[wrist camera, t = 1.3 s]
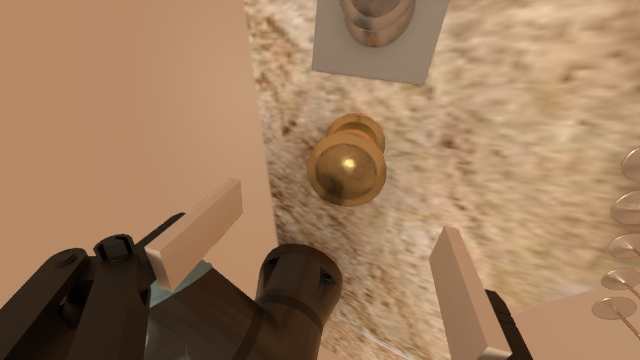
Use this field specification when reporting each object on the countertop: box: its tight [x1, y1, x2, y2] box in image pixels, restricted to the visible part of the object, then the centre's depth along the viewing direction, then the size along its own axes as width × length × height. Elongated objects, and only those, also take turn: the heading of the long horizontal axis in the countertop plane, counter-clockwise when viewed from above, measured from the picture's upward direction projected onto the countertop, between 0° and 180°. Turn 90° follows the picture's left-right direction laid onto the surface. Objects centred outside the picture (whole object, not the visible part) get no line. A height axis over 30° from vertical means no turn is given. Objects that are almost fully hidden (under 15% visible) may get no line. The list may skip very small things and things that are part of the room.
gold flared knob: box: [307, 113, 386, 207], centre depth 26 cm, size 8×8×9 cm
